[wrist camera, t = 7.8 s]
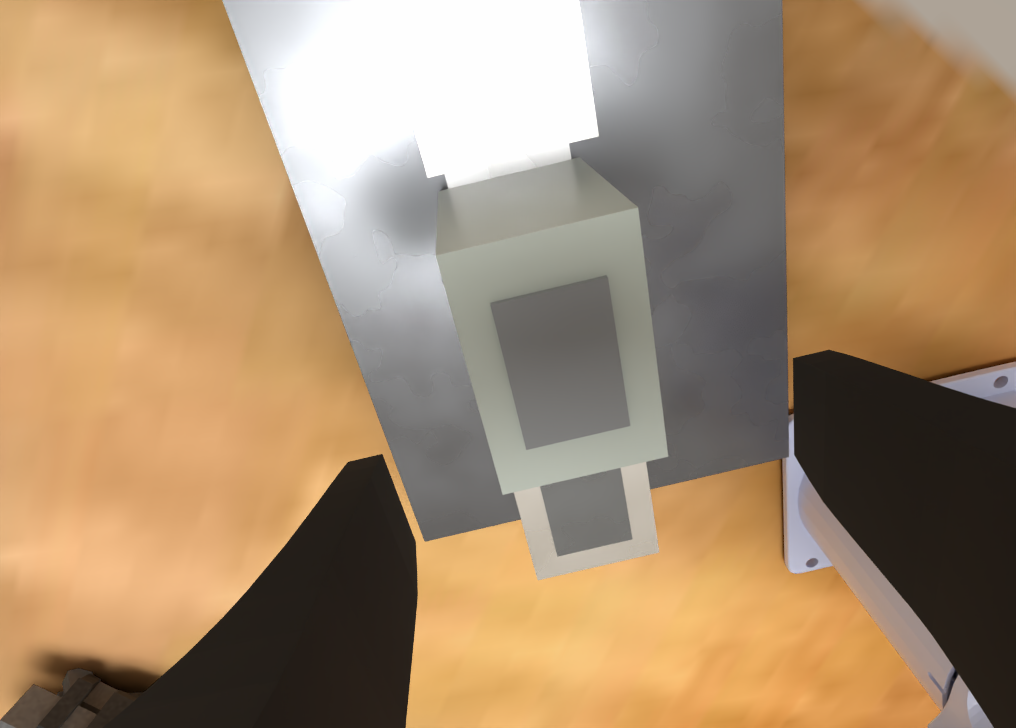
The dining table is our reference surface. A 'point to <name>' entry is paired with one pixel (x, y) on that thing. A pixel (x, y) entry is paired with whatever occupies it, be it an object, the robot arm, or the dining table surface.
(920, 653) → the robot arm
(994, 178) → the dining table surface
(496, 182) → the block
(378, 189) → the panel
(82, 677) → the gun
